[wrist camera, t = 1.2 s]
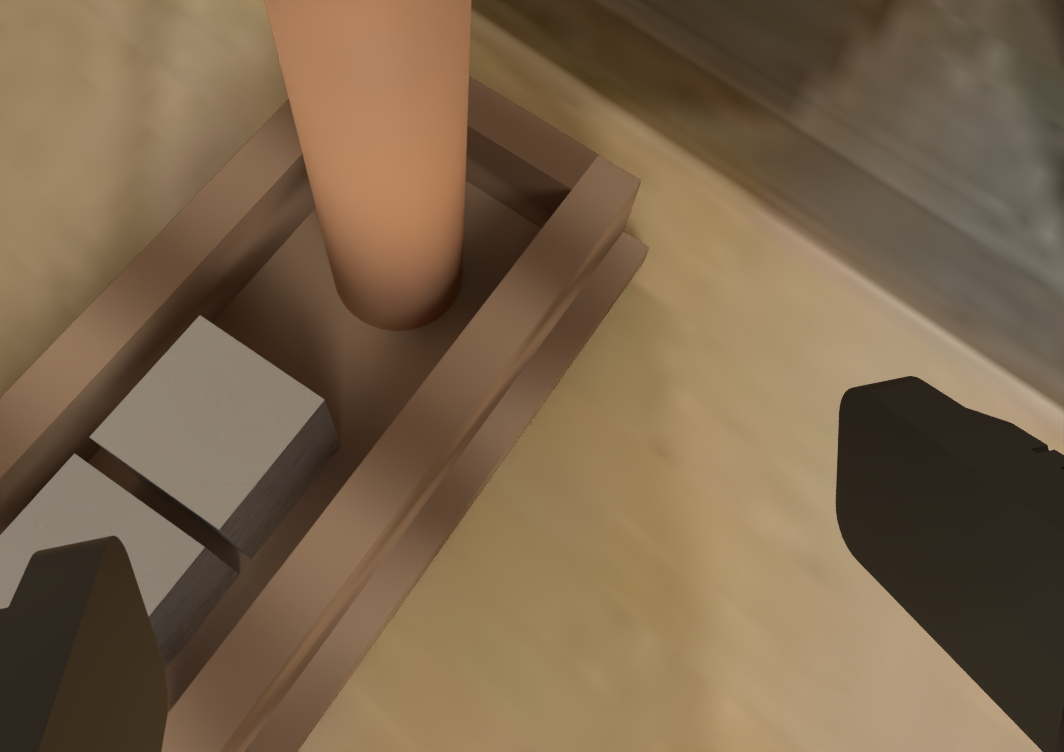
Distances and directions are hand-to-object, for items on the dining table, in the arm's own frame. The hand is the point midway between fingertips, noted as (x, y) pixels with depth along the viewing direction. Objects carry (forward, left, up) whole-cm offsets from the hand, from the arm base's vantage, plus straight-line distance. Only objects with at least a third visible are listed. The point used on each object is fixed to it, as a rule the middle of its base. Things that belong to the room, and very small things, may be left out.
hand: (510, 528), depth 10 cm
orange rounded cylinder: (-8, -9, -16) cm, 20 cm away
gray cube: (+4, -9, -16) cm, 19 cm away
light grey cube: (-1, -9, -16) cm, 18 cm away
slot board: (-4, -9, -17) cm, 20 cm away
